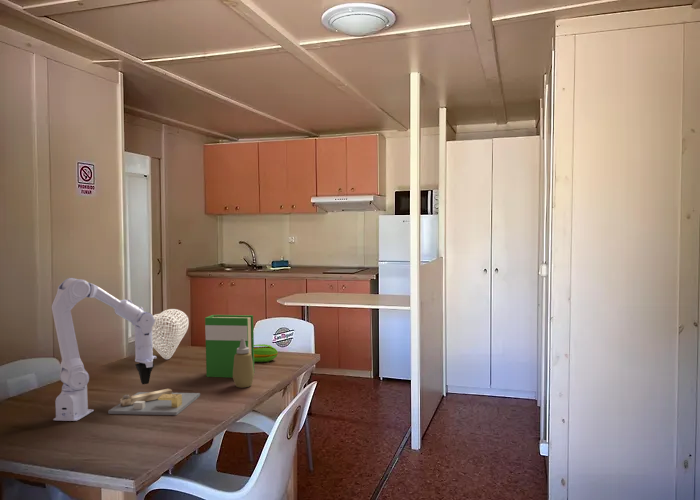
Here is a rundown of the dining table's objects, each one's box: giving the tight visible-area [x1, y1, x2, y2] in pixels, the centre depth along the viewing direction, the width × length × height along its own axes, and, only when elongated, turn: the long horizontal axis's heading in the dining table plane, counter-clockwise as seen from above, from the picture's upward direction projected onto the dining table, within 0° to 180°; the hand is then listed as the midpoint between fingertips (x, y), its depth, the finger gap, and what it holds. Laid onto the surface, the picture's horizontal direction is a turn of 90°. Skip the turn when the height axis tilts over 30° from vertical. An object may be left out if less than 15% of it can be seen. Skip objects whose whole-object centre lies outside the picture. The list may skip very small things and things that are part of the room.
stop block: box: [134, 401, 145, 409], centre depth 176 cm, size 2×3×2 cm, turn 84°
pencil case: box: [254, 343, 279, 363], centre depth 241 cm, size 7×8×20 cm
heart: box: [152, 308, 190, 360], centre depth 247 cm, size 28×16×22 cm, turn 179°
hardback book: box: [204, 314, 255, 379], centre depth 218 cm, size 18×7×24 cm, turn 81°
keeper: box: [158, 394, 182, 408], centre depth 178 cm, size 4×6×3 cm, turn 84°
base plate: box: [107, 391, 201, 416], centre depth 182 cm, size 20×23×1 cm
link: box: [119, 388, 173, 406], centre depth 183 cm, size 17×4×3 cm, turn 129°
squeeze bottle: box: [232, 338, 255, 389], centre depth 203 cm, size 8×8×18 cm
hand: (145, 383), depth 188 cm, fingers closed
